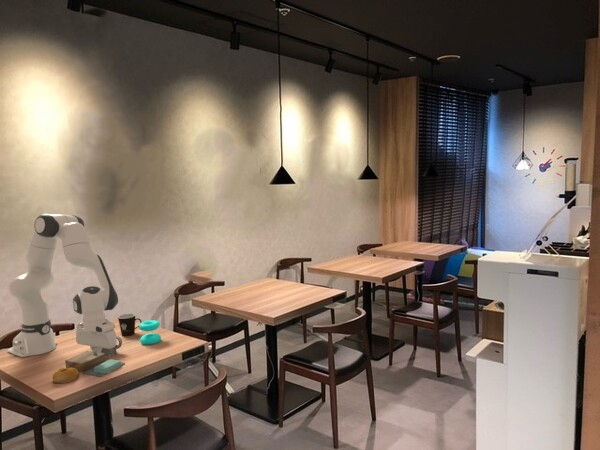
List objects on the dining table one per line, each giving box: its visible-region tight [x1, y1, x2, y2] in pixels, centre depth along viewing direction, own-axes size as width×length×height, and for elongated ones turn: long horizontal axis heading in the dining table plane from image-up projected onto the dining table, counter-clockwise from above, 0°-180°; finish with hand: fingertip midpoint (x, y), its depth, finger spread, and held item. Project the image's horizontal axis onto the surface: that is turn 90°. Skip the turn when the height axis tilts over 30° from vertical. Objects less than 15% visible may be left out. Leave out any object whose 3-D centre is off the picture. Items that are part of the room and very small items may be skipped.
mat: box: [82, 362, 126, 378], centre depth 206 cm, size 10×14×1 cm
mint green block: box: [94, 359, 122, 375], centre depth 204 cm, size 6×9×2 cm, turn 157°
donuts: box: [138, 319, 162, 346], centre depth 236 cm, size 10×10×10 cm
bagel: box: [51, 367, 80, 384], centre depth 197 cm, size 10×11×5 cm
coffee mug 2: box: [117, 313, 143, 338], centre depth 248 cm, size 12×9×10 cm
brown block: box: [64, 350, 107, 373], centre depth 209 cm, size 11×12×4 cm
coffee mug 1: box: [96, 335, 123, 358], centre depth 222 cm, size 13×10×10 cm
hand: (97, 355), depth 206 cm, fingers closed
